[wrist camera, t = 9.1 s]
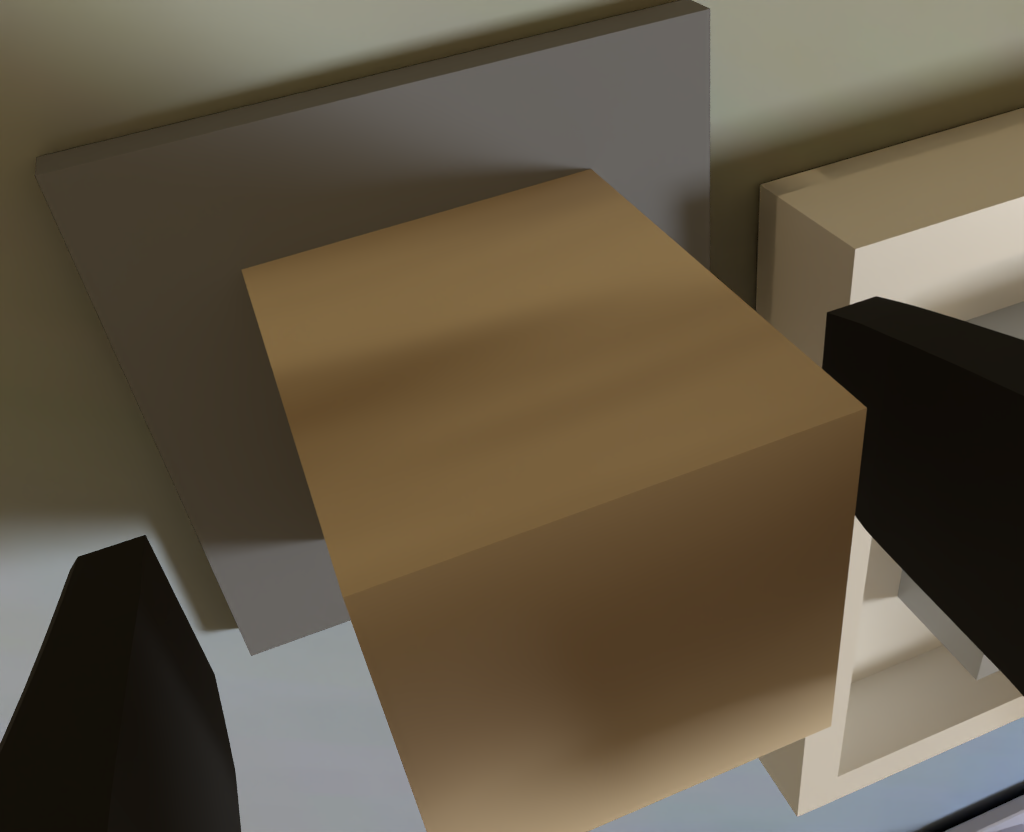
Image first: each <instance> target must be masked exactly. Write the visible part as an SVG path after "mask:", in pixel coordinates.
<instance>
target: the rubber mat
mask: <svg viewBox="0 0 1024 832" xmlns="http://www.w3.org/2000/svg"><path fill="white" fill-rule="evenodd" d="M589 169H592V170H593V171H594V172H595V173H597V174H598V175H599V176H600V177H601V178H602V179H603V180H605V181H606V182H607V183H608V184H609V185H610V186H612V187H613V188H614V189H615V190H616V191H617V192H618V193H620V194H621V195H622V196H623V197H624V198H625V199H627V200H628V201H629V202H630V203H631V204H632V205H633V206H635V207H636V208H637V209H638V210H639V211H640V212H642V213H643V214H644V215H645V216H646V217H647V218H648V219H650V220H651V221H652V222H653V223H654V224H655V225H657V226H658V227H659V228H660V229H661V230H662V231H664V232H665V233H666V234H667V235H668V236H669V237H670V238H672V239H673V240H674V241H675V242H676V243H677V244H679V245H680V246H681V247H682V248H683V249H684V250H685V251H687V252H688V253H689V254H690V255H691V256H692V257H694V258H695V259H696V260H697V261H698V262H699V263H700V264H702V265H703V266H704V267H705V268H706V269H707V270H709V271H710V9H709V8H707V7H705V6H703V5H701V4H699V3H696V2H694V1H692V0H679V1H675V2H671V3H667V4H663V5H659V6H655V7H651V8H647V9H642V10H638V11H634V12H630V13H626V14H622V15H618V16H614V17H610V18H606V19H601V20H597V21H593V22H589V23H585V24H581V25H577V26H573V27H569V28H565V29H560V30H556V31H552V32H548V33H544V34H540V35H536V36H532V37H528V38H524V39H519V40H515V41H511V42H507V43H503V44H499V45H495V46H491V47H487V48H483V49H479V50H474V51H470V52H466V53H462V54H458V55H454V56H450V57H446V58H442V59H438V60H433V61H429V62H425V63H421V64H417V65H413V66H409V67H405V68H401V69H397V70H392V71H388V72H384V73H380V74H376V75H372V76H368V77H364V78H360V79H356V80H351V81H347V82H343V83H339V84H335V85H331V86H327V87H323V88H319V89H315V90H310V91H306V92H302V93H298V94H294V95H290V96H286V97H282V98H278V99H274V100H270V101H265V102H261V103H257V104H253V105H249V106H245V107H241V108H237V109H233V110H229V111H224V112H220V113H216V114H212V115H208V116H204V117H200V118H196V119H192V120H188V121H183V122H179V123H175V124H171V125H167V126H163V127H159V128H155V129H151V130H147V131H142V132H138V133H134V134H130V135H126V136H122V137H118V138H114V139H110V140H106V141H102V142H97V143H93V144H89V145H85V146H81V147H77V148H73V149H69V150H65V151H61V152H56V153H52V154H48V155H44V156H40V157H36V170H35V177H36V179H37V181H38V184H39V186H40V188H41V190H42V192H43V195H44V197H45V199H46V201H47V204H48V206H49V208H50V210H51V212H52V215H53V217H54V219H55V221H56V224H57V226H58V228H59V230H60V232H61V235H62V237H63V239H64V241H65V244H66V246H67V248H68V250H69V252H70V255H71V257H72V259H73V261H74V264H75V266H76V268H77V270H78V272H79V275H80V277H81V279H82V281H83V284H84V286H85V288H86V290H87V292H88V295H89V297H90V299H91V301H92V303H93V306H94V308H95V310H96V312H97V315H98V317H99V319H100V321H101V323H102V326H103V328H104V330H105V332H106V335H107V337H108V339H109V341H110V343H111V346H112V348H113V350H114V352H115V355H116V357H117V359H118V361H119V363H120V366H121V368H122V370H123V372H124V375H125V377H126V379H127V381H128V383H129V386H130V388H131V390H132V392H133V395H134V397H135V399H136V401H137V403H138V406H139V408H140V410H141V412H142V415H143V417H144V419H145V421H146V423H147V426H148V428H149V430H150V432H151V435H152V437H153V439H154V441H155V443H156V446H157V448H158V450H159V452H160V454H161V457H162V459H163V461H164V463H165V466H166V468H167V470H168V472H169V474H170V477H171V479H172V481H173V483H174V486H175V488H176V490H177V492H178V494H179V497H180V499H181V501H182V503H183V506H184V508H185V510H186V512H187V514H188V517H189V519H190V521H191V523H192V526H193V528H194V530H195V532H196V534H197V537H198V539H199V541H200V543H201V546H202V548H203V550H204V552H205V554H206V557H207V559H208V561H209V563H210V566H211V568H212V570H213V572H214V574H215V577H216V579H217V581H218V583H219V586H220V588H221V590H222V592H223V594H224V597H225V599H226V601H227V603H228V605H229V608H230V610H231V612H232V614H233V617H234V619H235V621H236V623H237V625H238V628H239V630H240V632H241V634H242V637H243V639H244V641H245V643H246V645H247V648H248V650H249V652H250V654H251V656H252V655H255V654H258V653H261V652H263V651H266V650H269V649H272V648H274V647H277V646H280V645H283V644H286V643H288V642H291V641H294V640H297V639H299V638H302V637H305V636H308V635H311V634H313V633H316V632H319V631H322V630H325V629H327V628H330V627H333V626H336V625H338V624H341V623H344V622H347V621H350V620H351V619H350V616H349V613H348V610H347V608H346V605H345V602H344V599H343V596H342V593H341V590H340V587H339V583H338V580H337V577H336V574H335V571H334V567H333V564H332V561H331V558H330V554H329V551H328V548H327V545H326V541H325V538H324V535H323V532H322V529H321V525H320V522H319V519H318V516H317V512H316V509H315V506H314V503H313V500H312V496H311V493H310V490H309V487H308V483H307V480H306V477H305V474H304V470H303V467H302V464H301V461H300V458H299V454H298V451H297V448H296V445H295V441H294V438H293V435H292V432H291V429H290V425H289V422H288V419H287V416H286V412H285V409H284V406H283V403H282V399H281V396H280V393H279V390H278V387H277V383H276V380H275V377H274V374H273V370H272V367H271V364H270V361H269V357H268V354H267V351H266V348H265V345H264V341H263V338H262V335H261V332H260V328H259V325H258V322H257V319H256V316H255V312H254V309H253V306H252V303H251V299H250V296H249V293H248V290H247V286H246V283H245V280H244V277H243V274H242V269H245V268H249V267H252V266H256V265H259V264H263V263H266V262H270V261H273V260H277V259H280V258H284V257H287V256H291V255H294V254H297V253H301V252H304V251H308V250H311V249H315V248H318V247H322V246H325V245H329V244H332V243H336V242H339V241H343V240H346V239H349V238H353V237H356V236H360V235H363V234H367V233H370V232H374V231H377V230H381V229H384V228H388V227H391V226H395V225H398V224H401V223H405V222H408V221H412V220H415V219H419V218H422V217H426V216H429V215H433V214H436V213H440V212H443V211H446V210H450V209H453V208H457V207H460V206H464V205H467V204H471V203H474V202H478V201H481V200H485V199H488V198H492V197H495V196H498V195H502V194H505V193H509V192H512V191H516V190H519V189H523V188H526V187H530V186H533V185H537V184H540V183H544V182H547V181H550V180H554V179H557V178H561V177H564V176H568V175H571V174H575V173H578V172H582V171H585V170H589Z"/></svg>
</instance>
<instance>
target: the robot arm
mask: <svg viewBox="0 0 1024 832" xmlns="http://www.w3.org/2000/svg"><path fill="white" fill-rule="evenodd" d="M822 369H823V370H824V371H825V372H826V373H827V374H829V375H830V376H831V377H832V378H833V379H834V380H835V381H837V382H838V383H839V384H840V385H841V386H842V387H844V388H845V389H846V390H847V391H848V392H849V393H850V394H852V395H853V396H854V397H855V398H856V399H857V400H859V401H860V402H861V403H862V404H863V405H864V406H865V407H867V412H866V421H865V430H864V439H863V448H862V456H861V465H860V474H859V483H858V492H857V501H856V510H855V516H856V518H857V519H858V520H859V522H860V523H861V524H862V526H863V527H864V528H865V530H866V531H867V532H868V533H869V534H870V535H871V536H872V537H873V539H874V540H875V541H876V542H877V543H878V544H879V545H880V546H881V547H882V548H883V549H884V550H885V551H886V553H887V554H888V555H889V556H890V557H891V558H892V559H893V560H894V561H895V562H896V563H897V564H898V565H899V566H900V567H901V568H902V569H903V571H904V572H905V573H906V574H907V575H908V576H909V577H910V578H911V579H912V580H913V581H914V582H915V583H916V584H917V585H918V586H919V587H920V588H921V589H922V590H923V591H924V593H925V594H926V595H927V596H928V597H929V598H930V599H931V600H932V601H933V602H934V603H935V604H936V605H937V606H938V607H939V608H940V609H941V610H942V611H943V612H944V613H945V614H946V615H947V616H948V617H949V618H950V619H951V620H952V621H953V623H954V624H955V625H956V626H957V627H958V628H959V629H960V630H961V631H962V632H963V633H964V634H965V635H966V636H967V637H968V638H969V639H970V640H971V641H972V642H973V643H974V644H975V645H976V646H977V647H978V648H979V649H980V651H981V652H982V653H983V654H984V655H985V656H986V657H987V658H988V659H989V660H990V661H991V662H992V663H993V664H994V665H995V666H996V667H997V668H998V669H999V670H1000V671H1001V672H1002V673H1003V674H1004V675H1005V676H1006V677H1007V678H1008V680H1009V681H1010V682H1011V683H1012V684H1013V685H1014V686H1015V687H1016V688H1017V690H1018V691H1019V692H1020V693H1021V694H1022V695H1023V696H1024V340H1022V339H1019V338H1016V337H1013V336H1010V335H1007V334H1003V333H1000V332H997V331H994V330H991V329H988V328H985V327H982V326H979V325H975V324H972V323H969V322H966V321H963V320H960V319H957V318H953V317H950V316H947V315H944V314H940V313H937V312H934V311H930V310H927V309H924V308H920V307H917V306H913V305H910V304H906V303H902V302H898V301H894V300H890V299H886V298H882V297H877V296H875V297H872V298H869V299H866V300H863V301H860V302H857V303H854V304H851V305H848V306H845V307H842V308H838V309H835V310H832V311H829V312H827V316H826V328H825V340H824V351H823V363H822ZM0 832H241V825H240V815H239V804H238V794H237V784H236V774H235V767H234V762H233V758H232V753H231V748H230V743H229V738H228V733H227V729H226V724H225V719H224V715H223V710H222V706H221V701H220V697H219V692H218V688H217V683H216V679H215V674H214V672H213V670H212V668H211V666H210V664H209V662H208V660H207V658H206V656H205V654H204V652H203V650H202V648H201V646H200V644H199V642H198V640H197V638H196V636H195V634H194V632H193V630H192V628H191V626H190V624H189V622H188V620H187V618H186V616H185V614H184V612H183V610H182V608H181V606H180V604H179V602H178V600H177V598H176V596H175V594H174V592H173V590H172V588H171V586H170V584H169V581H168V579H167V577H166V575H165V573H164V571H163V569H162V567H161V565H160V563H159V561H158V559H157V557H156V555H155V553H154V551H153V549H152V547H151V545H150V543H149V541H148V539H147V537H146V535H144V536H140V537H137V538H134V539H131V540H128V541H125V542H122V543H119V544H116V545H113V546H110V547H107V548H104V549H101V550H98V551H95V552H91V553H88V554H85V555H82V556H79V557H78V558H77V559H76V561H75V563H74V564H73V566H72V568H71V569H70V572H69V574H68V577H67V580H66V582H65V585H64V588H63V590H62V593H61V596H60V599H59V601H58V604H57V607H56V609H55V612H54V615H53V617H52V620H51V623H50V625H49V628H48V630H47V633H46V636H45V638H44V641H43V643H42V646H41V648H40V651H39V653H38V656H37V658H36V661H35V663H34V666H33V668H32V671H31V673H30V676H29V678H28V681H27V683H26V686H25V688H24V691H23V693H22V695H21V697H20V700H19V702H18V704H17V707H16V709H15V711H14V713H13V716H12V718H11V720H10V723H9V725H8V727H7V730H6V732H5V734H4V736H3V739H2V741H1V743H0ZM944 832H1024V795H1022V796H1020V797H1017V798H1015V799H1013V800H1011V801H1009V802H1007V803H1004V804H1002V805H1000V806H998V807H996V808H994V809H992V810H989V811H987V812H985V813H983V814H981V815H979V816H976V817H974V818H972V819H970V820H968V821H966V822H963V823H961V824H959V825H957V826H955V827H953V828H950V829H948V830H946V831H944Z"/></svg>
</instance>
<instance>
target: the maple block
mask: <svg viewBox="0 0 1024 832" xmlns="http://www.w3.org/2000/svg"><path fill="white" fill-rule="evenodd" d="M242 274H243V277H244V280H245V283H246V286H247V290H248V293H249V296H250V299H251V303H252V306H253V309H254V312H255V316H256V319H257V322H258V325H259V328H260V332H261V335H262V338H263V341H264V345H265V348H266V351H267V354H268V357H269V361H270V364H271V367H272V370H273V374H274V377H275V380H276V383H277V387H278V390H279V393H280V396H281V399H282V403H283V406H284V409H285V412H286V416H287V419H288V422H289V425H290V429H291V432H292V435H293V438H294V441H295V445H296V448H297V451H298V454H299V458H300V461H301V464H302V467H303V470H304V474H305V477H306V480H307V483H308V487H309V490H310V493H311V496H312V500H313V503H314V506H315V509H316V512H317V516H318V519H319V522H320V525H321V529H322V532H323V535H324V538H325V541H326V545H327V548H328V551H329V554H330V558H331V561H332V564H333V567H334V571H335V574H336V577H337V580H338V583H339V587H340V590H341V593H342V596H343V599H344V602H345V605H346V608H347V610H348V613H349V616H350V619H351V622H352V624H353V627H354V630H355V633H356V636H357V638H358V641H359V644H360V647H361V650H362V652H363V655H364V658H365V661H366V663H367V666H368V669H369V672H370V675H371V677H372V680H373V683H374V686H375V689H376V691H377V694H378V697H379V700H380V703H381V705H382V708H383V711H384V714H385V716H386V719H387V722H388V725H389V728H390V730H391V733H392V736H393V739H394V742H395V744H396V747H397V750H398V753H399V755H400V758H401V761H402V764H403V767H404V769H405V772H406V775H407V778H408V781H409V783H410V786H411V789H412V792H413V795H414V797H415V800H416V803H417V806H418V808H419V811H420V814H421V817H422V820H423V822H424V825H425V828H426V831H427V832H588V831H590V830H592V829H595V828H597V827H599V826H601V825H604V824H606V823H608V822H611V821H613V820H615V819H618V818H620V817H622V816H625V815H627V814H629V813H632V812H634V811H636V810H638V809H641V808H643V807H645V806H648V805H650V804H652V803H655V802H657V801H659V800H662V799H664V798H666V797H669V796H671V795H673V794H675V793H678V792H680V791H682V790H685V789H687V788H689V787H692V786H694V785H696V784H699V783H701V782H703V781H706V780H708V779H710V778H712V777H715V776H717V775H719V774H722V773H724V772H726V771H729V770H731V769H733V768H736V767H738V766H740V765H743V764H745V763H747V762H749V761H752V760H754V759H756V758H759V757H761V756H763V755H766V754H768V753H770V752H773V751H775V750H777V749H780V748H782V747H784V746H786V745H789V744H791V743H793V742H796V741H798V740H800V739H803V738H805V737H807V736H810V735H812V734H814V733H817V732H819V731H821V730H823V729H826V728H828V727H830V726H831V722H832V714H833V705H834V696H835V687H836V678H837V669H838V660H839V652H840V643H841V634H842V625H843V616H844V607H845V598H846V589H847V581H848V572H849V563H850V554H851V545H852V536H853V527H854V519H855V510H856V501H857V492H858V483H859V474H860V465H861V456H862V448H863V439H864V430H865V421H866V412H867V407H865V406H864V405H863V404H862V403H861V402H860V401H859V400H857V399H856V398H855V397H854V396H853V395H852V394H850V393H849V392H848V391H847V390H846V389H845V388H844V387H842V386H841V385H840V384H839V383H838V382H837V381H835V380H834V379H833V378H832V377H831V376H830V375H829V374H827V373H826V372H825V371H824V370H823V369H822V368H820V367H819V366H818V365H817V364H816V363H815V362H814V361H812V360H811V359H810V358H809V357H808V356H807V355H805V354H804V353H803V352H802V351H801V350H800V349H799V348H797V347H796V346H795V345H794V344H793V343H792V342H790V341H789V340H788V339H787V338H786V337H785V336H784V335H782V334H781V333H780V332H779V331H778V330H777V329H775V328H774V327H773V326H772V325H771V324H770V323H769V322H767V321H766V320H765V319H764V318H763V317H762V316H760V315H759V314H758V313H757V312H756V311H755V310H754V309H752V308H751V307H750V306H749V305H748V304H747V303H745V302H744V301H743V300H742V299H741V298H740V297H739V296H737V295H736V294H735V293H734V292H733V291H732V290H730V289H729V288H728V287H727V286H726V285H725V284H724V283H722V282H721V281H720V280H719V279H718V278H717V277H715V276H714V275H713V274H712V273H711V272H710V271H709V270H707V269H706V268H705V267H704V266H703V265H702V264H700V263H699V262H698V261H697V260H696V259H695V258H694V257H692V256H691V255H690V254H689V253H688V252H687V251H685V250H684V249H683V248H682V247H681V246H680V245H679V244H677V243H676V242H675V241H674V240H673V239H672V238H670V237H669V236H668V235H667V234H666V233H665V232H664V231H662V230H661V229H660V228H659V227H658V226H657V225H655V224H654V223H653V222H652V221H651V220H650V219H648V218H647V217H646V216H645V215H644V214H643V213H642V212H640V211H639V210H638V209H637V208H636V207H635V206H633V205H632V204H631V203H630V202H629V201H628V200H627V199H625V198H624V197H623V196H622V195H621V194H620V193H618V192H617V191H616V190H615V189H614V188H613V187H612V186H610V185H609V184H608V183H607V182H606V181H605V180H603V179H602V178H601V177H600V176H599V175H598V174H597V173H595V172H594V171H593V170H592V169H589V170H585V171H582V172H578V173H575V174H571V175H568V176H564V177H561V178H557V179H554V180H550V181H547V182H544V183H540V184H537V185H533V186H530V187H526V188H523V189H519V190H516V191H512V192H509V193H505V194H502V195H498V196H495V197H492V198H488V199H485V200H481V201H478V202H474V203H471V204H467V205H464V206H460V207H457V208H453V209H450V210H446V211H443V212H440V213H436V214H433V215H429V216H426V217H422V218H419V219H415V220H412V221H408V222H405V223H401V224H398V225H395V226H391V227H388V228H384V229H381V230H377V231H374V232H370V233H367V234H363V235H360V236H356V237H353V238H349V239H346V240H343V241H339V242H336V243H332V244H329V245H325V246H322V247H318V248H315V249H311V250H308V251H304V252H301V253H297V254H294V255H291V256H287V257H284V258H280V259H277V260H273V261H270V262H266V263H263V264H259V265H256V266H252V267H249V268H245V269H242Z"/></svg>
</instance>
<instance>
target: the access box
mask: <svg viewBox="0 0 1024 832" xmlns="http://www.w3.org/2000/svg"><path fill="white" fill-rule="evenodd" d="M875 296H877V297H882V298H886V299H890V300H894V301H898V302H902V303H906V304H910V305H913V306H917V307H920V308H924V309H927V310H930V311H934V312H937V313H940V314H944V315H947V316H950V317H953V318H957V319H960V320H963V321H966V322H969V323H972V324H975V325H979V326H982V327H985V328H988V329H991V330H994V331H997V332H1000V333H1003V334H1007V335H1010V336H1013V337H1016V338H1019V339H1022V340H1024V108H1021V109H1017V110H1014V111H1011V112H1007V113H1004V114H1000V115H997V116H993V117H990V118H987V119H983V120H980V121H976V122H973V123H969V124H966V125H963V126H959V127H956V128H952V129H949V130H945V131H942V132H939V133H935V134H932V135H928V136H925V137H921V138H918V139H915V140H911V141H908V142H904V143H901V144H897V145H894V146H891V147H887V148H884V149H880V150H877V151H873V152H870V153H867V154H863V155H860V156H856V157H853V158H849V159H846V160H843V161H839V162H836V163H832V164H829V165H825V166H822V167H819V168H815V169H812V170H808V171H805V172H801V173H798V174H795V175H791V176H788V177H784V178H781V179H777V180H774V181H771V182H767V183H764V184H760V199H759V229H758V258H757V288H756V312H757V313H758V314H759V315H760V316H762V317H763V318H764V319H765V320H766V321H767V322H769V323H770V324H771V325H772V326H773V327H774V328H775V329H777V330H778V331H779V332H780V333H781V334H782V335H784V336H785V337H786V338H787V339H788V340H789V341H790V342H792V343H793V344H794V345H795V346H796V347H797V348H799V349H800V350H801V351H802V352H803V353H804V354H805V355H807V356H808V357H809V358H810V359H811V360H812V361H814V362H815V363H816V364H817V365H818V366H819V367H820V368H822V363H823V351H824V340H825V328H826V316H827V312H829V311H832V310H835V309H838V308H842V307H845V306H848V305H851V304H854V303H857V302H860V301H863V300H866V299H869V298H872V297H875ZM1021 717H1024V696H1023V695H1022V694H1021V693H1020V692H1019V691H1018V690H1017V688H1016V687H1015V686H1014V685H1013V684H1012V683H1011V682H1010V681H1009V680H1008V678H1007V677H1006V676H1005V675H1004V674H1003V673H1002V672H1001V671H1000V670H999V669H998V668H997V667H996V666H995V665H994V664H993V663H992V662H991V661H990V660H989V659H988V658H987V657H986V656H985V655H984V654H983V653H982V652H981V651H980V649H979V648H978V647H977V646H976V645H975V644H974V643H973V642H972V641H971V640H970V639H969V638H968V637H967V636H966V635H965V634H964V633H963V632H962V631H961V630H960V629H959V628H958V627H957V626H956V625H955V624H954V623H953V621H952V620H951V619H950V618H949V617H948V616H947V615H946V614H945V613H944V612H943V611H942V610H941V609H940V608H939V607H938V606H937V605H936V604H935V603H934V602H933V601H932V600H931V599H930V598H929V597H928V596H927V595H926V594H925V593H924V591H923V590H922V589H921V588H920V587H919V586H918V585H917V584H916V583H915V582H914V581H913V580H912V579H911V578H910V577H909V576H908V575H907V574H906V573H905V572H904V571H903V569H902V568H901V567H900V566H899V565H898V564H897V563H896V562H895V561H894V560H893V559H892V558H891V557H890V556H889V555H888V554H887V553H886V551H885V550H884V549H883V548H882V547H881V546H880V545H879V544H878V543H877V542H876V541H875V540H874V539H873V537H872V536H871V535H870V534H869V533H868V532H867V531H866V530H865V528H864V527H863V526H862V524H861V523H860V522H859V520H858V519H857V518H856V516H855V519H854V527H853V536H852V545H851V554H850V563H849V572H848V581H847V589H846V598H845V607H844V616H843V625H842V634H841V643H840V652H839V660H838V669H837V678H836V687H835V696H834V705H833V714H832V722H831V726H830V727H828V728H826V729H823V730H821V731H819V732H817V733H814V734H812V735H810V736H807V737H805V738H803V739H800V740H798V741H796V742H793V743H791V744H789V745H786V746H784V747H782V748H780V749H777V750H775V751H773V752H770V753H768V754H766V755H763V756H761V757H759V760H760V761H761V763H762V764H763V766H764V767H765V769H766V770H767V772H768V773H769V775H770V776H771V778H772V779H773V781H774V782H775V784H776V785H777V787H778V788H779V790H780V791H781V793H782V794H783V796H784V797H785V799H786V800H787V802H788V804H789V805H790V807H791V808H792V810H793V811H794V813H795V814H796V816H797V817H798V816H800V815H803V814H805V813H807V812H809V811H812V810H814V809H816V808H818V807H821V806H823V805H825V804H827V803H830V802H832V801H834V800H836V799H839V798H841V797H843V796H845V795H848V794H850V793H852V792H854V791H857V790H859V789H861V788H864V787H866V786H868V785H870V784H873V783H875V782H877V781H879V780H882V779H884V778H886V777H888V776H891V775H893V774H895V773H897V772H900V771H902V770H904V769H906V768H909V767H911V766H913V765H915V764H918V763H920V762H922V761H924V760H927V759H929V758H931V757H933V756H936V755H938V754H940V753H942V752H945V751H947V750H949V749H951V748H954V747H956V746H958V745H961V744H963V743H965V742H967V741H970V740H972V739H974V738H976V737H979V736H981V735H983V734H985V733H988V732H990V731H992V730H994V729H997V728H999V727H1001V726H1003V725H1006V724H1008V723H1010V722H1012V721H1015V720H1017V719H1019V718H1021Z"/></svg>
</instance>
